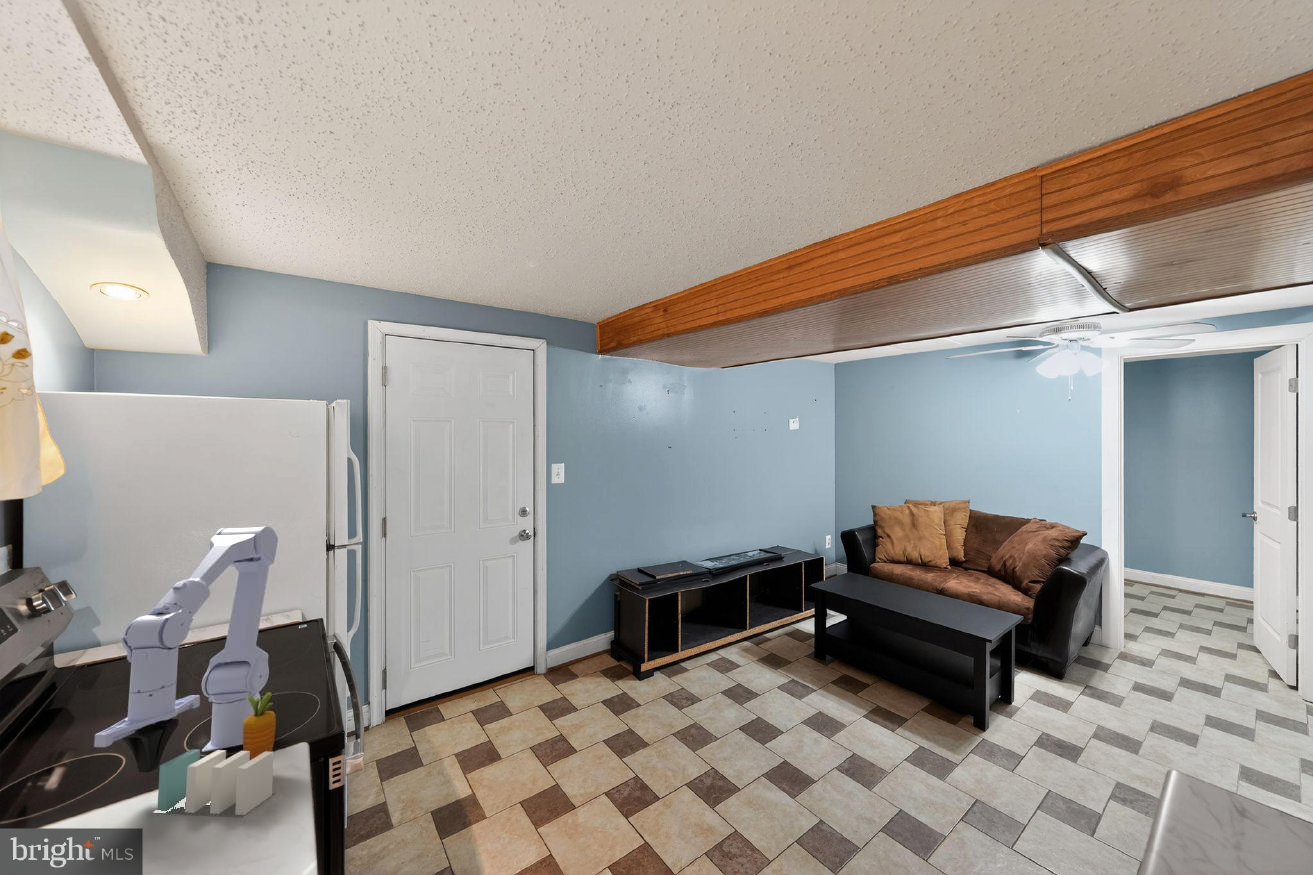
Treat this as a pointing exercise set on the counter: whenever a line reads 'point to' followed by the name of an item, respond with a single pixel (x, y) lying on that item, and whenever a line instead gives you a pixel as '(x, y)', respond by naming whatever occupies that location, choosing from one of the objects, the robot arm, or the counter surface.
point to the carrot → (259, 728)
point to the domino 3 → (254, 782)
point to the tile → (174, 779)
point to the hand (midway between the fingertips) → (148, 769)
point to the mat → (206, 811)
